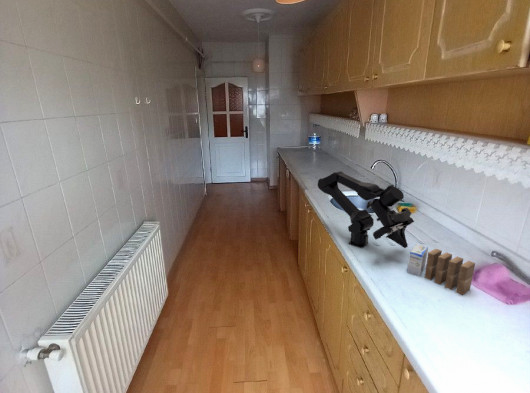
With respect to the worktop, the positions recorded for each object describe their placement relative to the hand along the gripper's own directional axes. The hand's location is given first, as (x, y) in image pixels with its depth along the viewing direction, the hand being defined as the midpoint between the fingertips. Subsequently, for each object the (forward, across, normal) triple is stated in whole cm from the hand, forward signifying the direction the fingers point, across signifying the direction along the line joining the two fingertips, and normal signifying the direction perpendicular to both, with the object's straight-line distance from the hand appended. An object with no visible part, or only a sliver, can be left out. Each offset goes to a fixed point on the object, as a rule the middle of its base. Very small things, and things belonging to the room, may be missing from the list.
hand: (406, 247), depth 112 cm
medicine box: (+9, 0, +2) cm, 9 cm away
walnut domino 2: (+15, 0, -5) cm, 16 cm away
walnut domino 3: (+18, 0, -7) cm, 19 cm away
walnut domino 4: (+20, 0, -10) cm, 22 cm away
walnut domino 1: (+12, 0, -2) cm, 13 cm away
